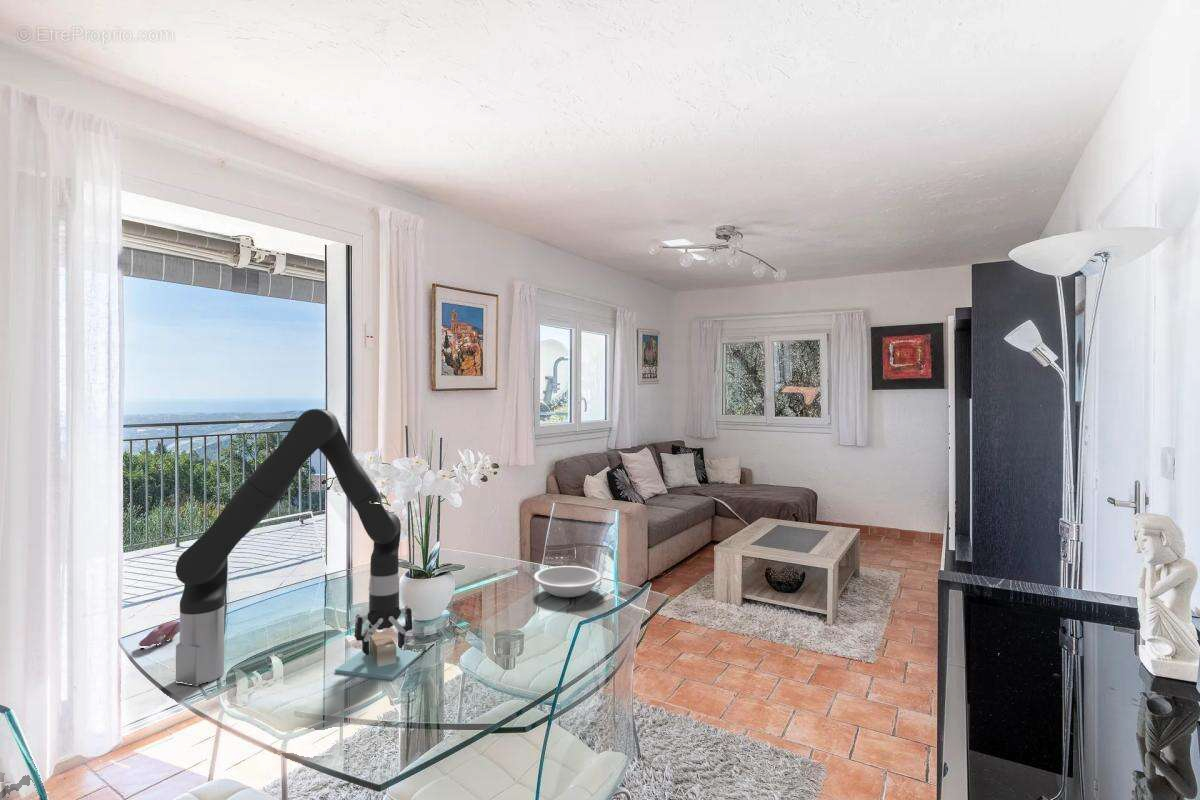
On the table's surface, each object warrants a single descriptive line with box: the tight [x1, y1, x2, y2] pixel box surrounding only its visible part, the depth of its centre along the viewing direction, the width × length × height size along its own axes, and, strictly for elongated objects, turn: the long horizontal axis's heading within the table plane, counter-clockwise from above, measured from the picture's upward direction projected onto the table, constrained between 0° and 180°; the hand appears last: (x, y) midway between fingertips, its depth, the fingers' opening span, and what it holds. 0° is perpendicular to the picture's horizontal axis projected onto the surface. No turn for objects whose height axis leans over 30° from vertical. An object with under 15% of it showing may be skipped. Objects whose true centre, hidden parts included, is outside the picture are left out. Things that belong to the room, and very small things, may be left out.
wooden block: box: [369, 630, 396, 667], centre depth 160 cm, size 4×4×11 cm
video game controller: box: [138, 619, 180, 647], centre depth 168 cm, size 10×5×7 cm, turn 170°
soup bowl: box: [533, 565, 602, 598], centre depth 214 cm, size 24×24×7 cm
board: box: [334, 647, 423, 681], centre depth 162 cm, size 22×16×1 cm
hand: (383, 650), depth 160 cm, fingers open, 8 cm apart
